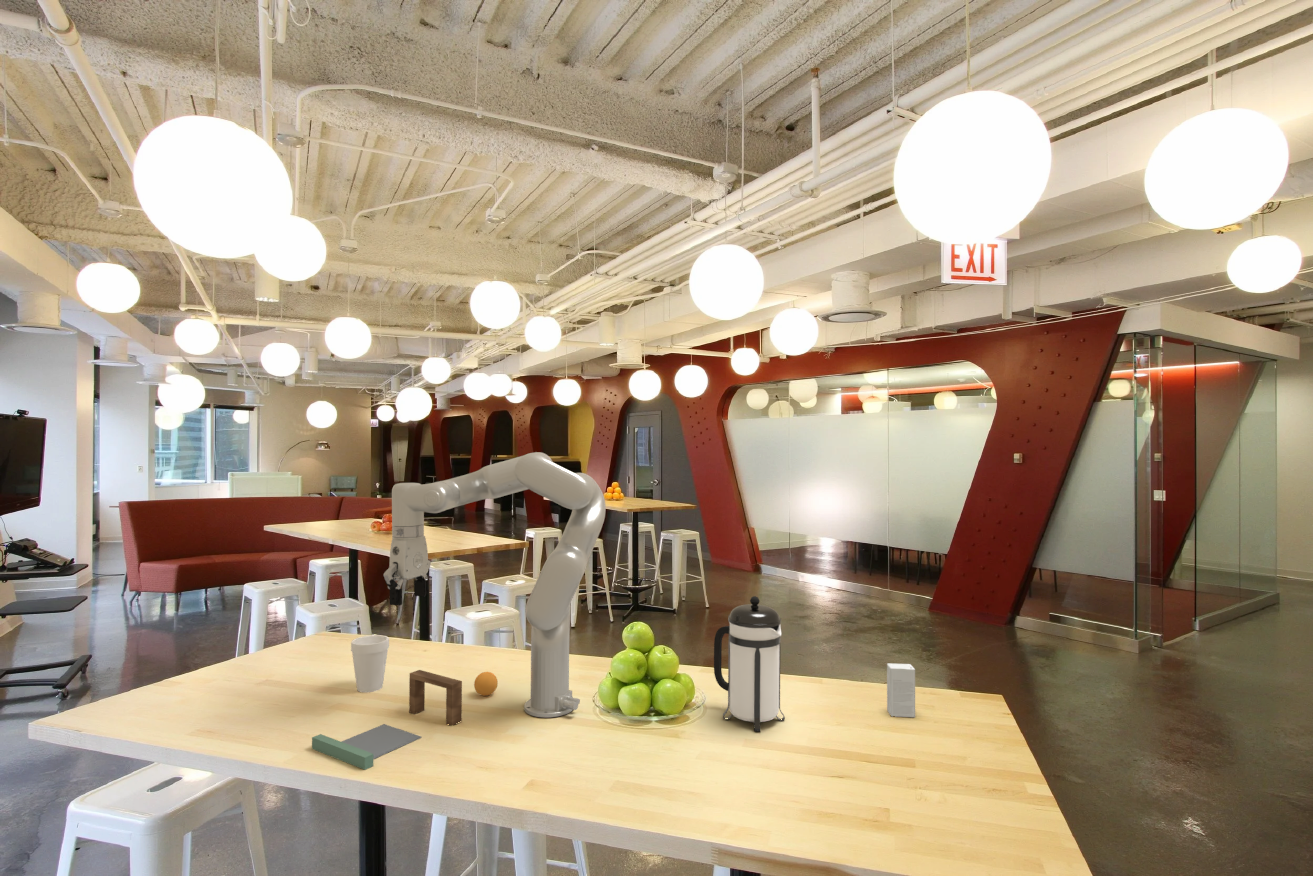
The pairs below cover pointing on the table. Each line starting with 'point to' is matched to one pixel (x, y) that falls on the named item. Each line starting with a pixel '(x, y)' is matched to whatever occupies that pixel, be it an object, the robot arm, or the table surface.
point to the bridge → (451, 685)
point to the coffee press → (751, 663)
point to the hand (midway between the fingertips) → (408, 600)
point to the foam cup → (369, 661)
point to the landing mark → (381, 740)
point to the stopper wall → (342, 751)
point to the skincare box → (901, 690)
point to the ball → (485, 683)
